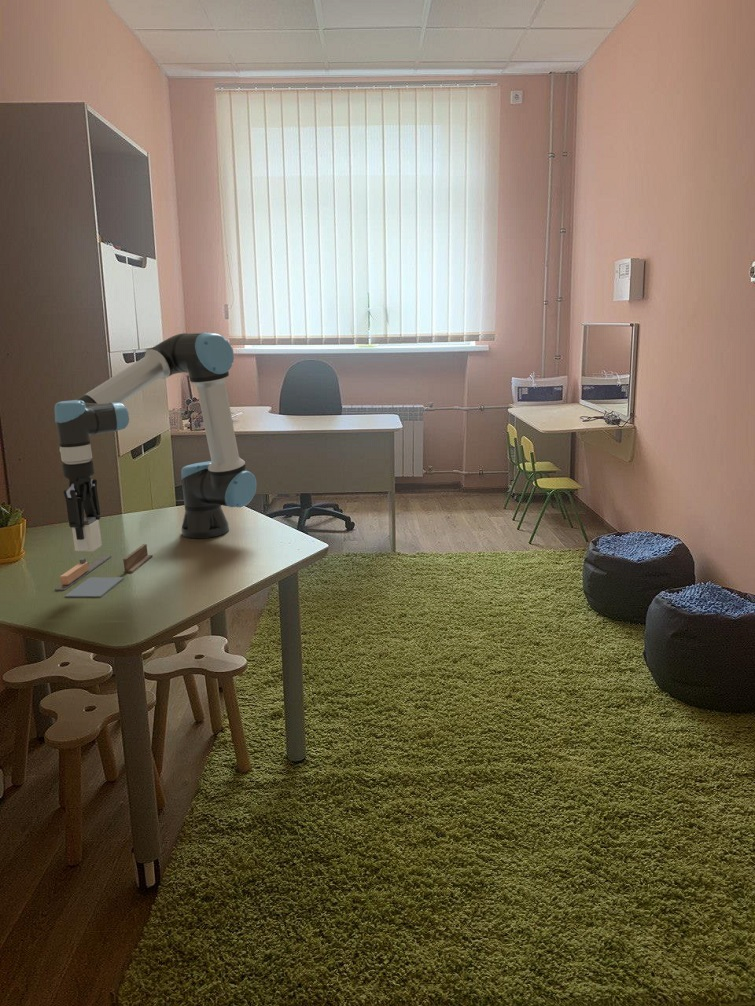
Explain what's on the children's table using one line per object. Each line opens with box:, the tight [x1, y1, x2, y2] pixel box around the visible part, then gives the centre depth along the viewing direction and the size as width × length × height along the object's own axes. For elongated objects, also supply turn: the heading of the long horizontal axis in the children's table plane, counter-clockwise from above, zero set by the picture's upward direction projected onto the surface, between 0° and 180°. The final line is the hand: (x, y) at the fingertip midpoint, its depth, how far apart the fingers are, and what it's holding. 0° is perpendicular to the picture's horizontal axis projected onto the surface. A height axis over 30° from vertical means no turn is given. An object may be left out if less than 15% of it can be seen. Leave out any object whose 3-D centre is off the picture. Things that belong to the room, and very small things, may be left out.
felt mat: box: [64, 576, 125, 598], centre depth 214 cm, size 10×14×1 cm
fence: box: [122, 543, 153, 574], centre depth 231 cm, size 2×14×4 cm, turn 173°
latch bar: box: [59, 557, 90, 585], centre depth 221 cm, size 2×12×4 cm, turn 173°
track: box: [54, 555, 112, 591], centre depth 227 cm, size 3×28×1 cm, turn 173°
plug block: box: [71, 516, 103, 552], centre depth 210 cm, size 5×5×8 cm
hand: (89, 547), depth 211 cm, fingers closed on plug block, 5 cm apart
